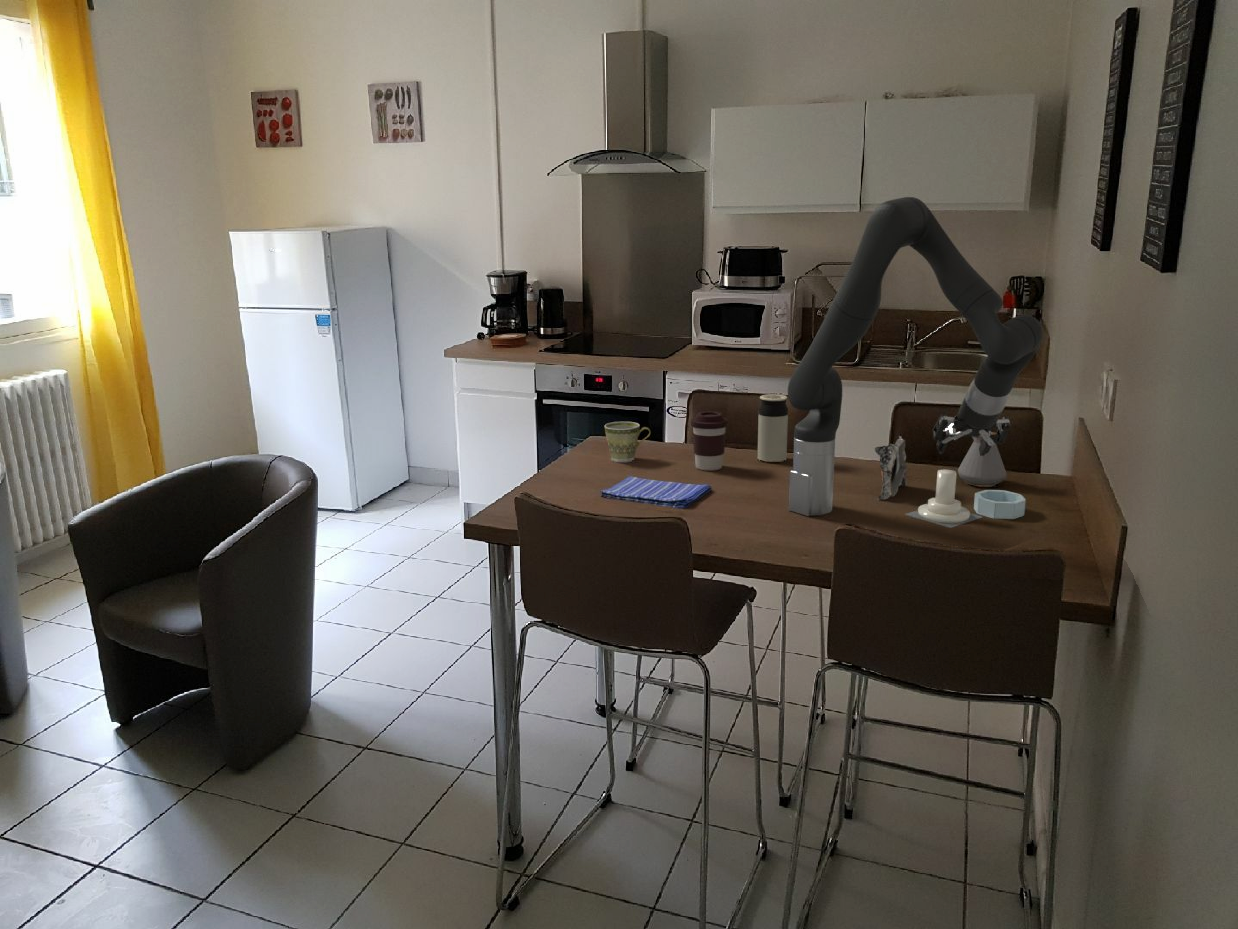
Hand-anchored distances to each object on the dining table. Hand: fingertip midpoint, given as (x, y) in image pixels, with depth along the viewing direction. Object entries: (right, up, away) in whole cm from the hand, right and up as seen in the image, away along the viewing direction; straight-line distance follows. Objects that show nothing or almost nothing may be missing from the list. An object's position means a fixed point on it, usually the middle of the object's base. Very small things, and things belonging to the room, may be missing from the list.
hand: (960, 451), depth 193 cm
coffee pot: (+17, -9, +34) cm, 39 cm away
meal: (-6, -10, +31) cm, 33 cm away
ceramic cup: (-69, -2, +67) cm, 96 cm away
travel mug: (-29, -2, +64) cm, 70 cm away
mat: (+1, -15, +13) cm, 20 cm away
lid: (+1, -14, +13) cm, 19 cm away
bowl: (+14, -14, +15) cm, 25 cm away
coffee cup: (-47, -4, +57) cm, 74 cm away
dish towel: (-63, -11, +35) cm, 73 cm away
